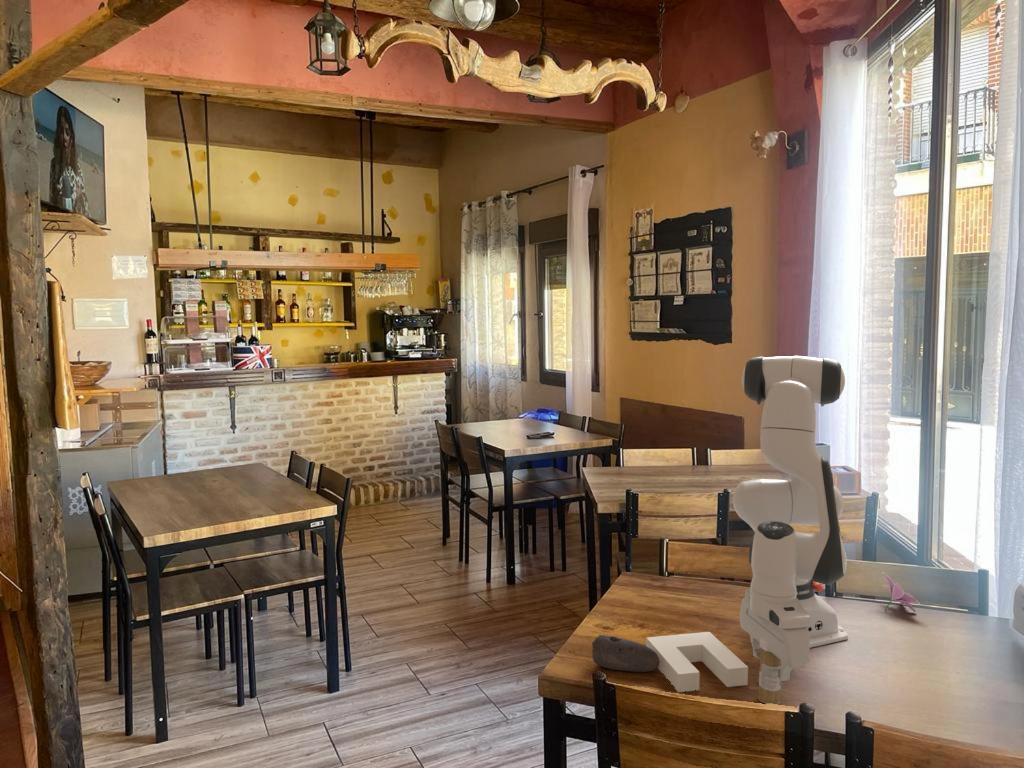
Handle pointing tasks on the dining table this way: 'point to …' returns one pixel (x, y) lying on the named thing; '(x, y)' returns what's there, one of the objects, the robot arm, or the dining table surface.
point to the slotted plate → (696, 660)
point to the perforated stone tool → (623, 654)
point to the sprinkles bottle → (769, 676)
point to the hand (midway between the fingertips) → (770, 668)
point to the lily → (899, 594)
